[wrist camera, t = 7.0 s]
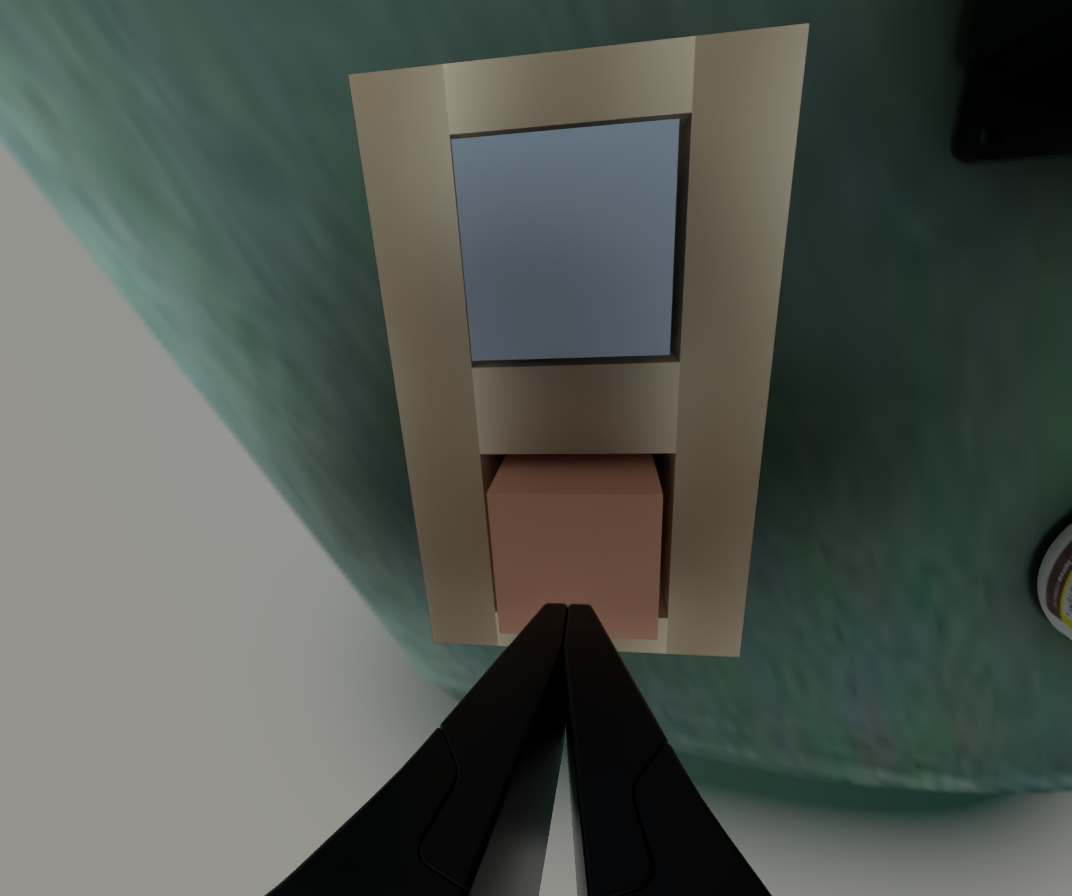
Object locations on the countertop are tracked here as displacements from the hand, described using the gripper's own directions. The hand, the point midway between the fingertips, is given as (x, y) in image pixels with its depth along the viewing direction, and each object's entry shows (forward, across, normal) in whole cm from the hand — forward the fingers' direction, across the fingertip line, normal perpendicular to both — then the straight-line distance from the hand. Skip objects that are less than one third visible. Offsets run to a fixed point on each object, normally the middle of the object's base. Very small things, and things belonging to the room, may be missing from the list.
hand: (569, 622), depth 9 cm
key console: (+7, 0, -3) cm, 8 cm away
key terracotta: (+4, 0, 0) cm, 4 cm away
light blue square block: (+4, 0, -6) cm, 8 cm away
